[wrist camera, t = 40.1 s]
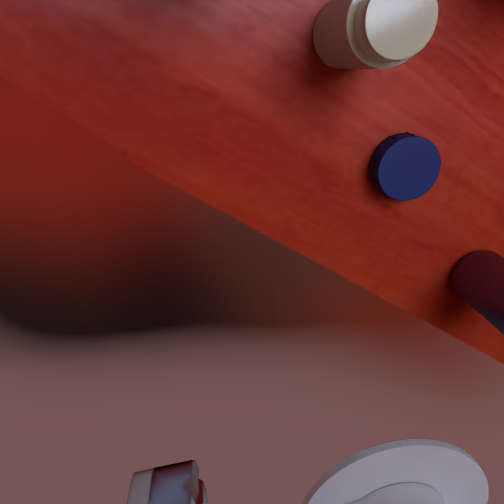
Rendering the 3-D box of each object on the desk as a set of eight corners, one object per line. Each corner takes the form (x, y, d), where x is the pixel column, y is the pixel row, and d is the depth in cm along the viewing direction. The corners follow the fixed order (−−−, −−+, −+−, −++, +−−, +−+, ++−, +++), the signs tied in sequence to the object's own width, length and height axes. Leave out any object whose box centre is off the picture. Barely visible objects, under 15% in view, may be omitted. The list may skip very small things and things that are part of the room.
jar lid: (385, 124, 39) (396, 127, 37) (439, 144, 40) (452, 148, 38) (359, 184, 41) (367, 190, 39) (411, 201, 42) (422, 208, 40)
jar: (365, 75, 37) (427, 77, 27) (305, 61, 36) (345, 58, 26) (385, 4, 35) (460, -23, 25) (322, -13, 34) (373, -49, 24)
